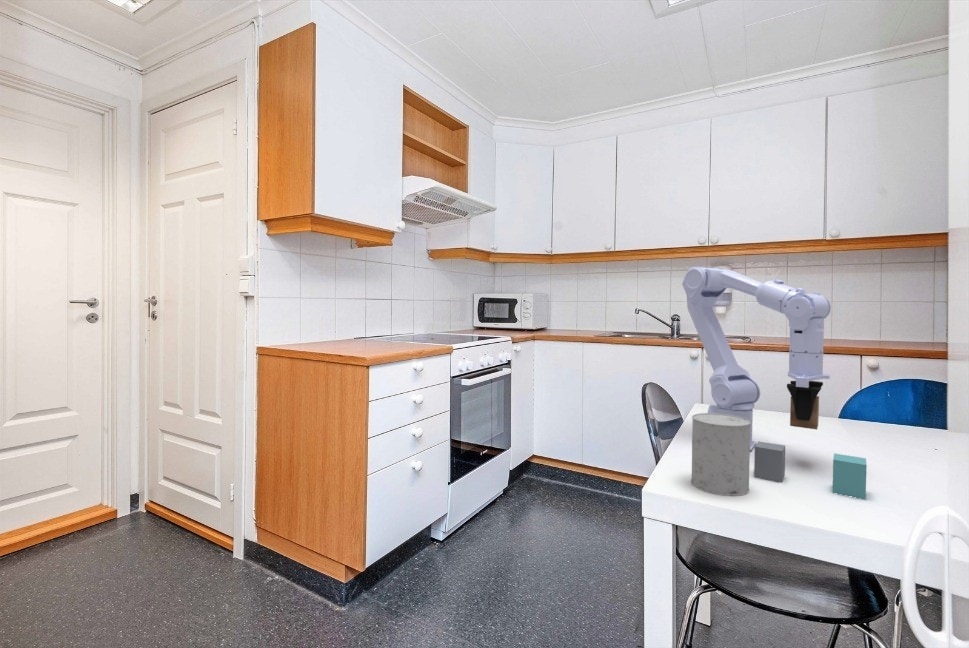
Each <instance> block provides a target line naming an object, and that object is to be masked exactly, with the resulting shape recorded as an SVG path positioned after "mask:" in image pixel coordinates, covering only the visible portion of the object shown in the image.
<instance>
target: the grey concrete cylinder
mask: <svg viewBox="0 0 969 648" xmlns="http://www.w3.org/2000/svg"><path fill="white" fill-rule="evenodd" d="M691 419H692V423H691V424H692V429H691V431H692V432H691V479H690V482H692V483H691V484H692V486H694V487H695V488H696V489H698V490H701V491H703V492H707V493H709V494H712V495H713V494H714V495H719V496H726V497H728V496H729V497H738V496H739V497H740V496H746V495H748V494H749V492H750V457H751V456H750V424H751V422H750V421H749V420H748V419H745V418H742V417H738V416H733V415H727V414H718V413H708V412H703V413H702V412H701V413H695V414H692V415H691Z"/></svg>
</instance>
